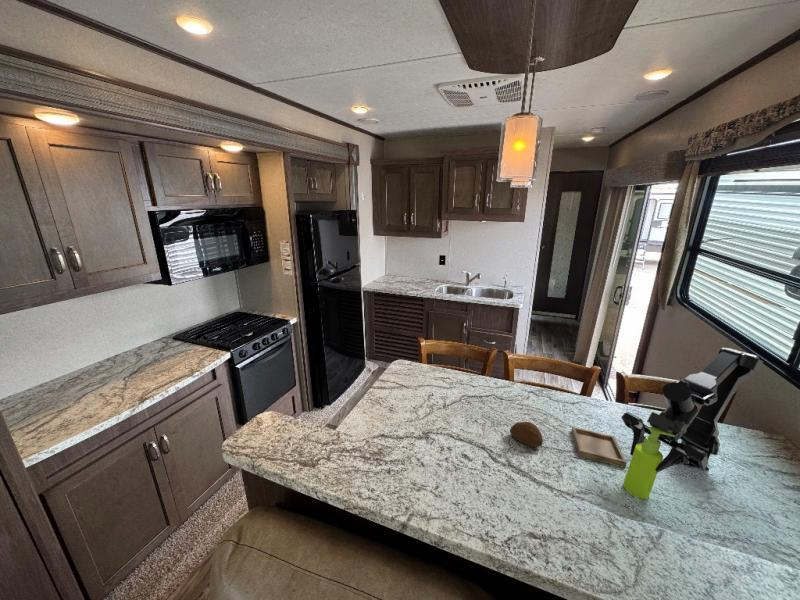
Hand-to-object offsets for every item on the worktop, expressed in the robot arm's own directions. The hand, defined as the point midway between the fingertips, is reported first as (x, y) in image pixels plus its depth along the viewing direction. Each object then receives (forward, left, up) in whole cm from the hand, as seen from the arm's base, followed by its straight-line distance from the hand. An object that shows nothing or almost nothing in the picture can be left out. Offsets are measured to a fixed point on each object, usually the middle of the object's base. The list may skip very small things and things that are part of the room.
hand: (643, 462), depth 84 cm
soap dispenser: (-1, -1, -10) cm, 10 cm away
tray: (+6, -16, -10) cm, 20 cm away
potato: (+28, -10, -10) cm, 31 cm away
